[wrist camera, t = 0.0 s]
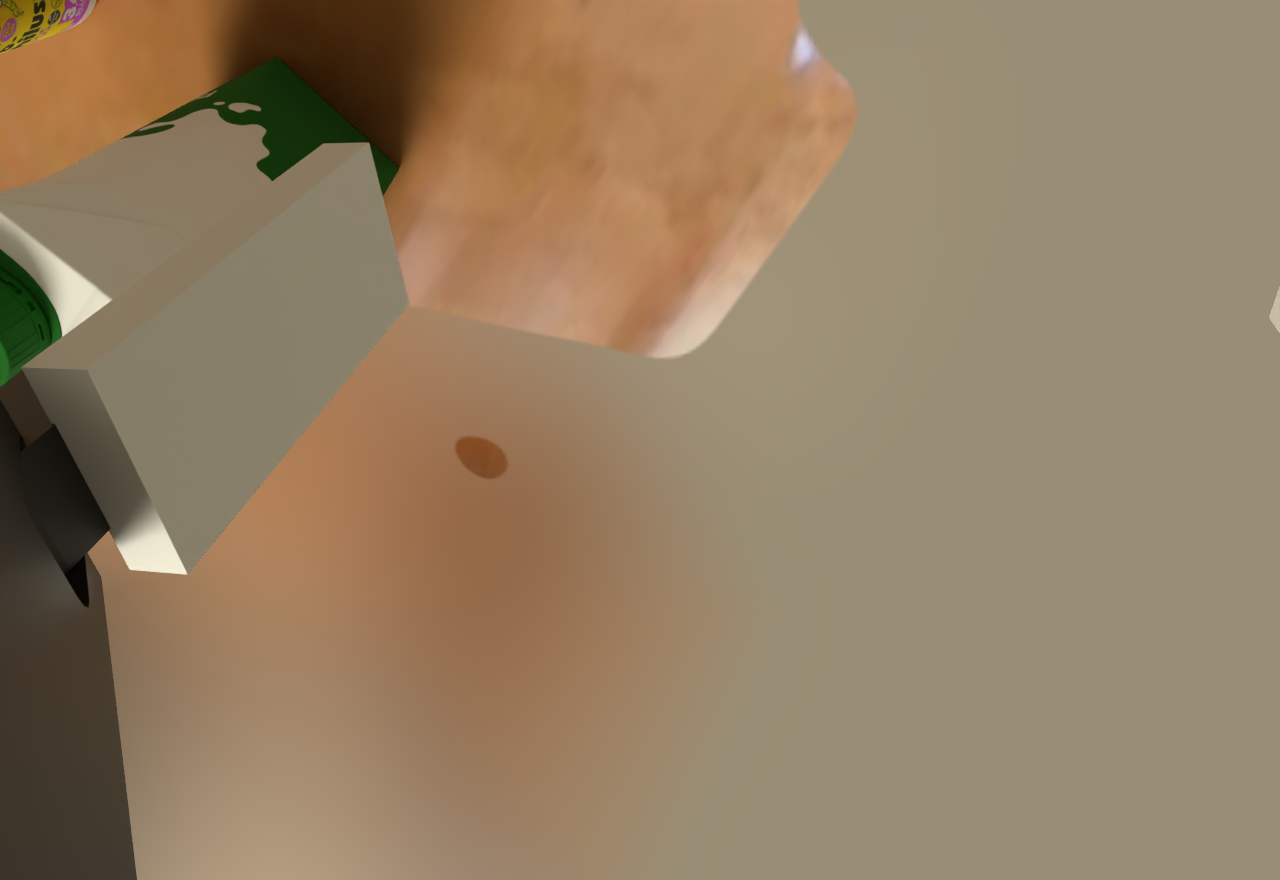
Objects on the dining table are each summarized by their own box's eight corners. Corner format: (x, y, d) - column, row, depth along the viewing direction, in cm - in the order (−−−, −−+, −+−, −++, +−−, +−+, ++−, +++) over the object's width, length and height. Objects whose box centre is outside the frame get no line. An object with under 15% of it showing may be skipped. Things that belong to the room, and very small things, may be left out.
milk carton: (270, 25, 43) (-86, 196, 27) (427, 171, 45) (189, 405, 29) (187, 157, 47) (-156, 367, 31) (335, 281, 50) (86, 533, 34)
